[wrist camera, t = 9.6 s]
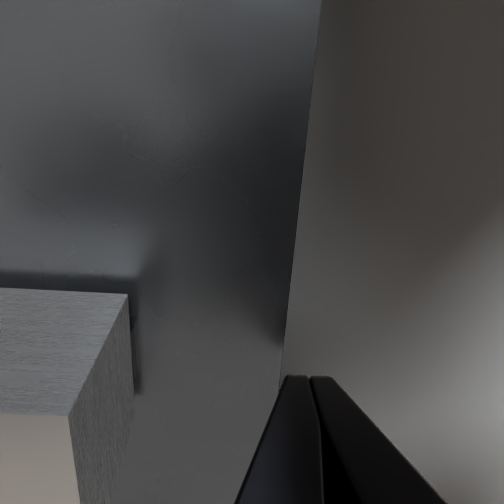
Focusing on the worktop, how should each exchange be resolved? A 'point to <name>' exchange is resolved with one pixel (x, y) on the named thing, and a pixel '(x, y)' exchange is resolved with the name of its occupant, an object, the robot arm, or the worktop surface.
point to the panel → (164, 206)
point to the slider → (63, 395)
